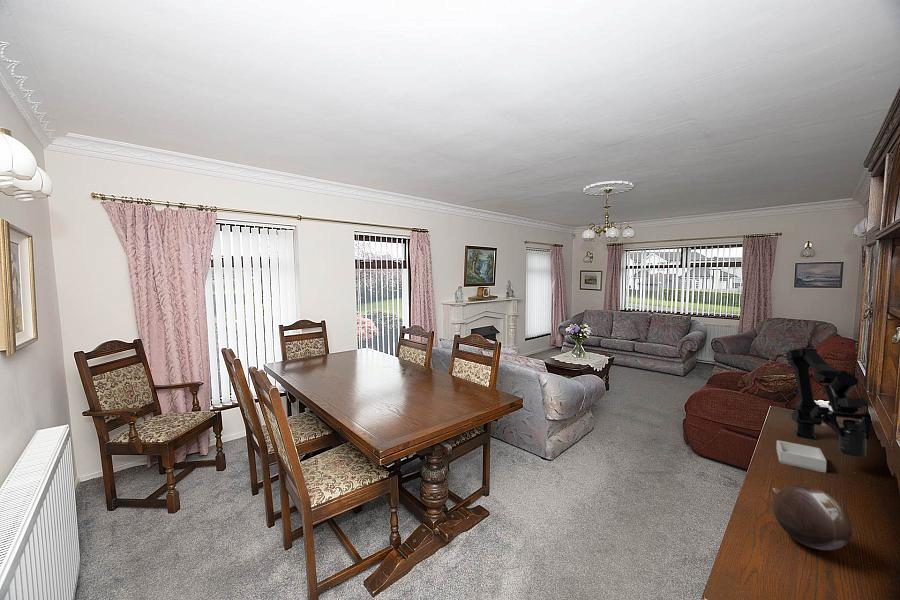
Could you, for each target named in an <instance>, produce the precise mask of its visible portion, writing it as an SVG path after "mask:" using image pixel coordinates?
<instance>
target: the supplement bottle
mask: <svg viewBox="0 0 900 600" xmlns="http://www.w3.org/2000/svg"><path fill="white" fill-rule="evenodd" d="M839 427H840V429H841V431H842V434H843V436H839V435H838V451H839V452H841V453H842V454H844V455H846V456H850V457H854V458H864V457H866V456H867V439H866V433H865V431H863V430H862V429H863V427H862V423H861V422H860V421H859V420H855V419H843V420H842V426H839Z"/></svg>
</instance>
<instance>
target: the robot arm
mask: <svg viewBox="0 0 900 600" xmlns="http://www.w3.org/2000/svg"><path fill="white" fill-rule="evenodd" d="M785 355H786V356H785V357H786V360H787V361H788V364H789V365H790V367H791V368H792V369H793V370H794V376H795V381H796V388H797V389H796V390H797V396H798V401H797V403H796V405H795V409H794V411H793V412H792V413H791V420H792V421H793V422H795V423H796V430H794V433H795V435H796V437H800V438H806V439H812V440H817V436H816V434H815V433H816V432H815V431H816V425H817V426H822V423H824V424H826V425H827V427H829V428H831V430H833V432H835V433H836V434H837V435H838V437H839V436H843V434H842V431H841V429H840V427H841V426H840V425H839V423H838V421H837V419H838V418H844V419H851V420H858V422H861V423H862V427H863V429H862V430H863V431H865V433H866V441H868V440H870V434H871V432H870V431H871V426H873V425H872V421H871V418H870V414H869V410H866V411H864V412H863V413H856V412H859V409H864V408H867V407H869V402H868V400H867V398H866V397H862V396H861V397H857V398H852V397H849V395H848V393H850V392H851V391H852V390H853V389H854V388H855V387H856V386H857V384H859V379H858V378H857V377H856V376H855V375H853V374H851V373H850V372H849V373H848V371H847V370H843V369H842V370H839V369H837V368H836V367H833V366H831V365H829V364H828V363H827V362H826V361H825V360H824V359H823V358H822V356H821V355H820V354H819V353H818V351H817V349H816V348H813V347H800V348H797V349H789V351H787V352H786V353H785ZM810 367H811V368H812V370H813V371H814V375H813V376H814V379H815V380H816V381H817V383H819V384H825V386H824V387H823V389H822V393H823V394H825V395H826V397H827V400H828V403H827V405H828V407H827V406H821V405H820V404H817V403H816V402H815V400H814V396H813V395H814V393H813V390H812V389H813V388H812V383H811V377H810V370H809V368H810ZM829 407H831V410H830V408H829Z"/></svg>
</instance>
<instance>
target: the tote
mask: <svg viewBox="0 0 900 600" xmlns="http://www.w3.org/2000/svg"><path fill="white" fill-rule="evenodd" d="M776 450H777V451H776V454H777V458H778V461H779V463H780V464H783V465H787V466H793V467H797V468H802V469H806V470H811V471H815V472H819V473H825V474H827V459H826V458H825V456H824V454H823V452H822V449H821V448H820V447H814V446H811V445H805V444H800V443H794V442H788V441H783V440H776Z"/></svg>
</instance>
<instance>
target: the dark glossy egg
mask: <svg viewBox="0 0 900 600" xmlns="http://www.w3.org/2000/svg"><path fill="white" fill-rule="evenodd" d="M777 492H778V491H777ZM772 505H773V507H772V508H773V513H774V516H775V518H776V521H777V522H778V524H779V526H780V527H781V528H782V529H783V530H784V531H785V533H786V534H787V535H788V536H790V537H791V538H792V539H794V540H795V541H796V542H798V543H801V545H804V546H806V547H808V548H812V549H816V550H821V551H833V550H834V551H835V550H838V549H841V548H842V547H844V546H846V545H847V544H848V543H849V541H850V540H851V538H852V534H853V525H852V520H851V518H850V516H849V514H848V512H847V511H846V510H845V508H844V506H843V505H842V504H841V503H840V502H839V501H837V500H836V499H835V498H834V497H833V496H832V495H830V494H828V493H826V491H822V490H820V489H818V488H815V487H813V486H809V485H804V484H803V485H802V484H800V485H799V484H796V485H795V484H794V485H789V486H786V487H783V488H782V489H781V490H780V491H779V492H778V494H776V495H775V497H774V500H773V504H772Z"/></svg>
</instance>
